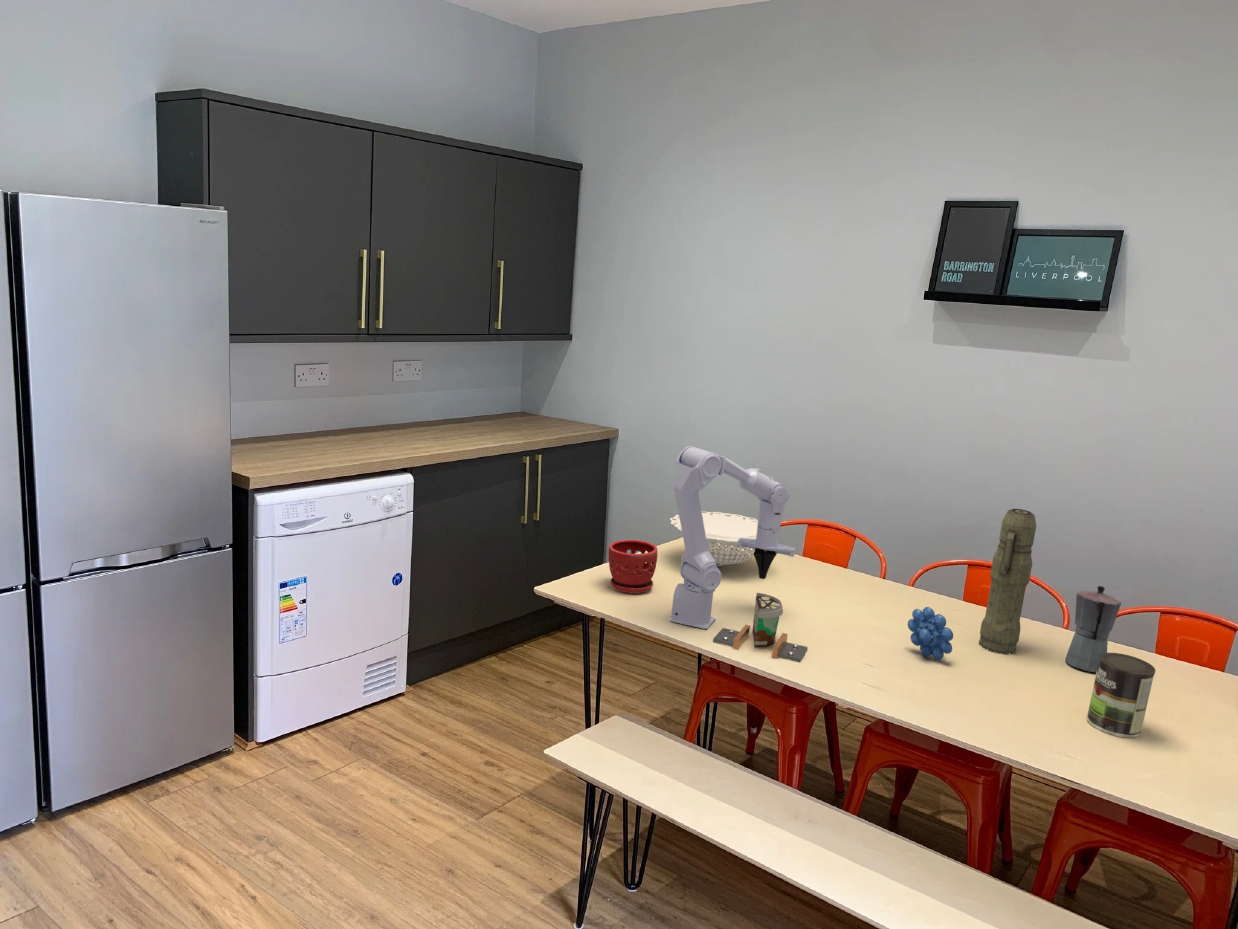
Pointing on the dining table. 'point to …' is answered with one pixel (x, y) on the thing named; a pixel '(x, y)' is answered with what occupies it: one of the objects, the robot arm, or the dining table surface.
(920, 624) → the grapes
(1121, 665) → the coffee can
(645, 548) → the plant pot
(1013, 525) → the thermos
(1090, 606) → the moka pot
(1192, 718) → the dining table surface
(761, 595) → the food container
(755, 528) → the white lattice basket
